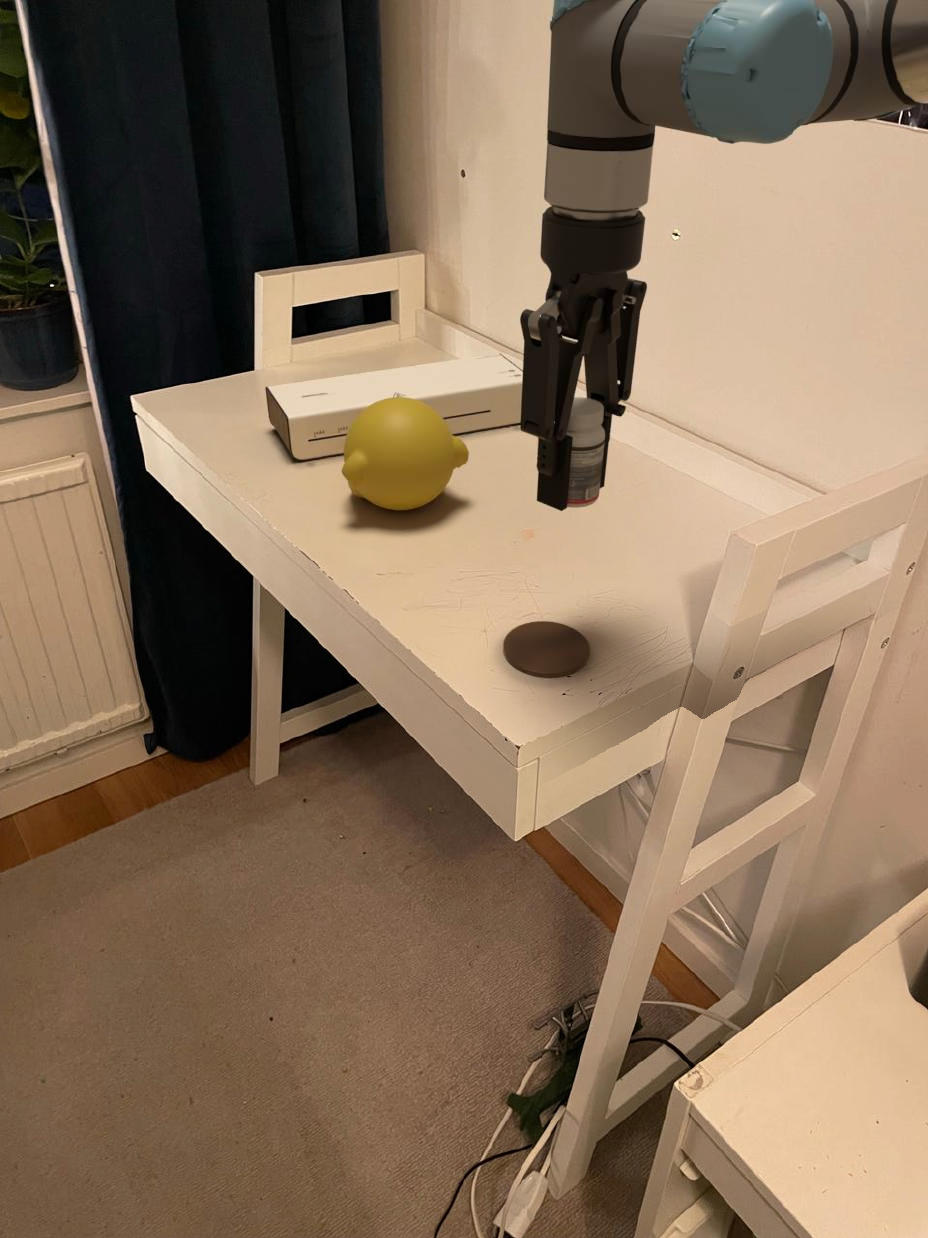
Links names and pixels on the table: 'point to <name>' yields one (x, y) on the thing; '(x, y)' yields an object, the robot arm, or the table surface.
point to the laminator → (452, 388)
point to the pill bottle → (585, 451)
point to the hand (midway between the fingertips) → (570, 492)
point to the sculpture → (400, 454)
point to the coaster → (546, 649)
